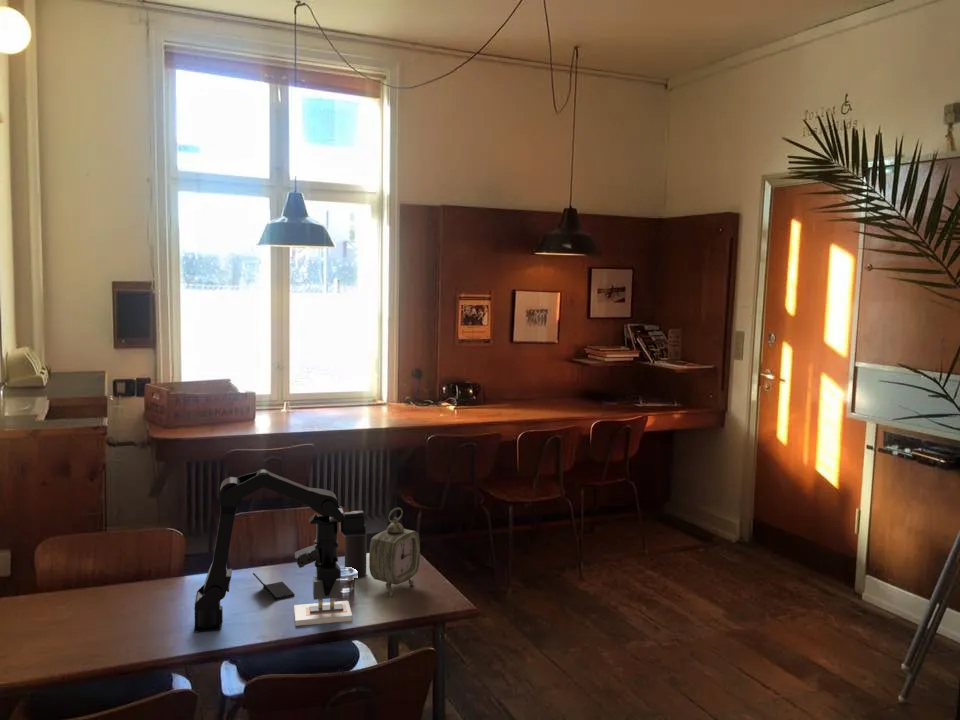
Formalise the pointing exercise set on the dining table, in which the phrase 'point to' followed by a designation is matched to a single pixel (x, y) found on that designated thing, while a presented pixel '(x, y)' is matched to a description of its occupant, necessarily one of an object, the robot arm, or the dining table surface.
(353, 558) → the bottle
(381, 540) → the tabletop clock
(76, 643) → the dining table surface
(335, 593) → the connector housing
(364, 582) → the dining table surface
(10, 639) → the dining table surface
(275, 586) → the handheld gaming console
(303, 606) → the header board
